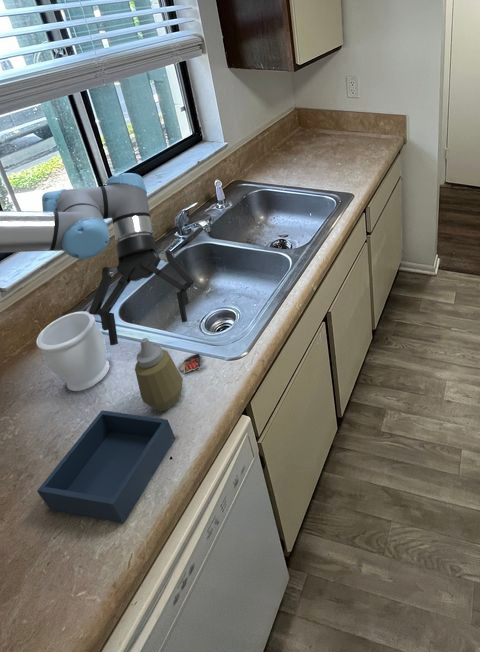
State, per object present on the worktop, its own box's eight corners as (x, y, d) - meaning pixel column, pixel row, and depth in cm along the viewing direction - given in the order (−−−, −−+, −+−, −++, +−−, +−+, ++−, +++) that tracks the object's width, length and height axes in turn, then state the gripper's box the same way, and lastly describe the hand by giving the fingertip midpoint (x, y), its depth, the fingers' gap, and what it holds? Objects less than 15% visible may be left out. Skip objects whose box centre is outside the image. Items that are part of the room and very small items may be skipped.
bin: (49, 510, 77) (36, 490, 75) (111, 429, 90) (101, 409, 88) (123, 523, 75) (112, 504, 73) (175, 438, 88) (168, 419, 86)
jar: (83, 402, 96) (58, 354, 89) (50, 388, 99) (24, 341, 92) (125, 362, 105) (105, 316, 98) (93, 351, 108) (72, 306, 101)
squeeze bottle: (174, 376, 101) (153, 319, 93) (194, 394, 97) (174, 336, 89) (139, 403, 95) (113, 344, 87) (158, 424, 91) (133, 364, 83)
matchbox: (198, 353, 107) (198, 351, 106) (205, 366, 103) (204, 365, 103) (178, 363, 104) (177, 362, 104) (184, 378, 100) (184, 377, 100)
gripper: (196, 228, 108) (213, 313, 103) (76, 257, 99) (88, 354, 93) (191, 220, 102) (210, 312, 96) (63, 252, 92) (75, 355, 86)
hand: (150, 333), depth 94 cm, fingers open, 13 cm apart
